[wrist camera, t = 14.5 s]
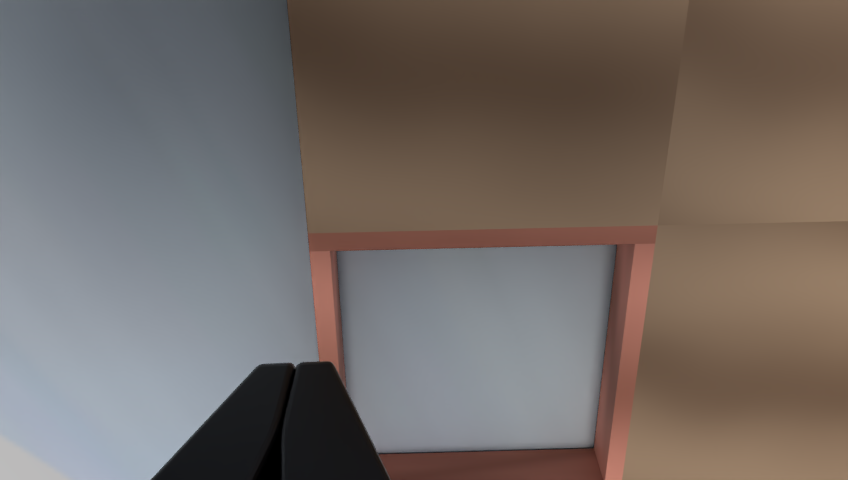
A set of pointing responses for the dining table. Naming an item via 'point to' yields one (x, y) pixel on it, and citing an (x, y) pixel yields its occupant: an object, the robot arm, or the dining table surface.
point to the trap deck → (609, 204)
